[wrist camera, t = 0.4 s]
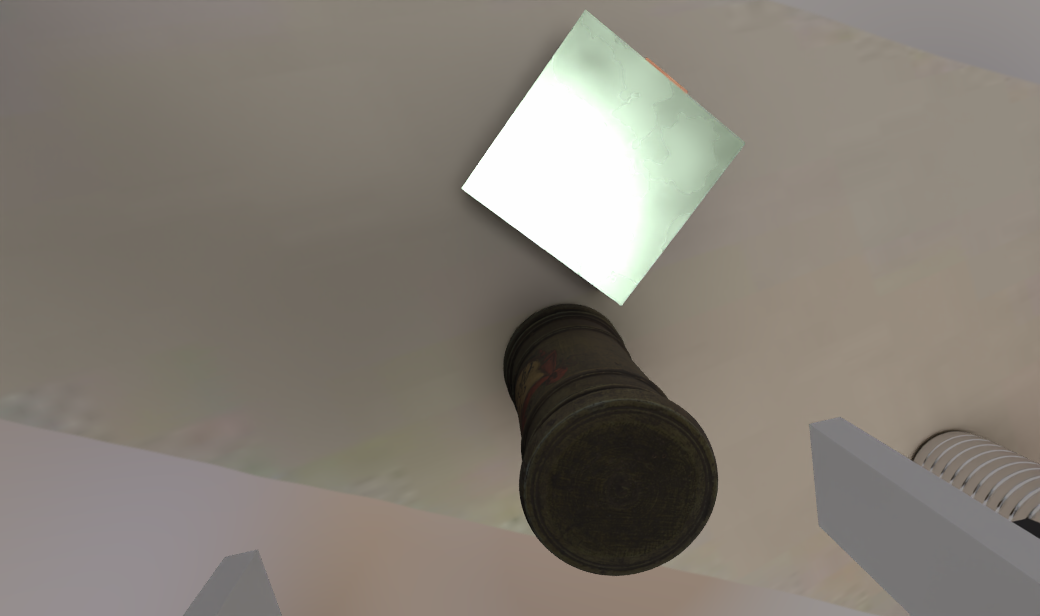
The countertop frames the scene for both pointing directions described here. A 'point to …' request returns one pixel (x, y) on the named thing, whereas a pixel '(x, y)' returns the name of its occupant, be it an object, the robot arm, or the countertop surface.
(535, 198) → the grey square box
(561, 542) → the container
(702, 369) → the countertop surface
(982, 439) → the water bottle
